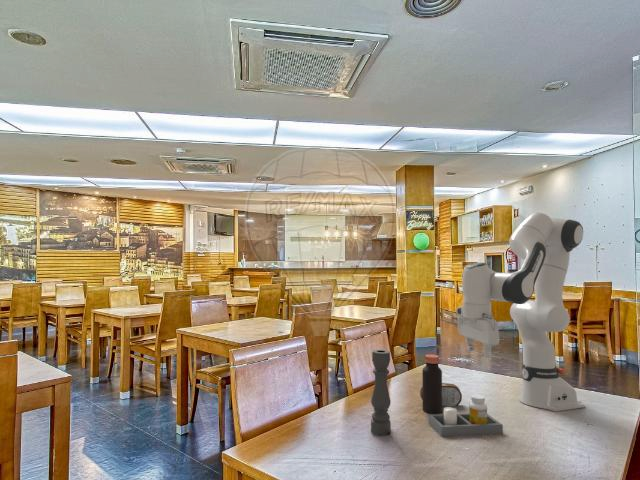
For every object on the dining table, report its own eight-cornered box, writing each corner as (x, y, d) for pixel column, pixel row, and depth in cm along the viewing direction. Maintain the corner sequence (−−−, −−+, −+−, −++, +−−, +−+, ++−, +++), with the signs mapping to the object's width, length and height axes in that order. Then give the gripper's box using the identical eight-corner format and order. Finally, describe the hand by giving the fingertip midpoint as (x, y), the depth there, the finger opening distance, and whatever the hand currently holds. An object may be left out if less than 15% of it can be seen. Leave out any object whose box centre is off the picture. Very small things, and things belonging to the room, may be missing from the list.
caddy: (485, 423, 136) (485, 412, 136) (502, 436, 126) (502, 424, 126) (428, 425, 133) (428, 414, 133) (441, 438, 123) (441, 427, 123)
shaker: (453, 425, 131) (453, 407, 131) (459, 431, 127) (459, 411, 127) (441, 426, 130) (441, 407, 131) (447, 431, 126) (447, 412, 127)
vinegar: (443, 411, 146) (443, 355, 147) (440, 417, 140) (440, 359, 141) (424, 408, 149) (424, 353, 150) (420, 414, 143) (420, 356, 144)
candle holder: (392, 429, 130) (392, 350, 131) (388, 437, 124) (389, 354, 125) (373, 426, 132) (373, 348, 133) (368, 434, 126) (369, 352, 127)
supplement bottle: (466, 424, 133) (466, 394, 133) (482, 423, 133) (482, 393, 133) (474, 431, 127) (473, 399, 128) (490, 430, 128) (490, 399, 128)
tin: (460, 405, 152) (460, 383, 153) (462, 408, 149) (462, 385, 150) (419, 404, 154) (419, 381, 154) (421, 407, 151) (421, 383, 151)
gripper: (504, 315, 125) (505, 361, 124) (470, 308, 145) (471, 347, 144) (485, 316, 124) (486, 362, 123) (453, 308, 144) (455, 347, 143)
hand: (478, 353), depth 134 cm, fingers open, 8 cm apart
